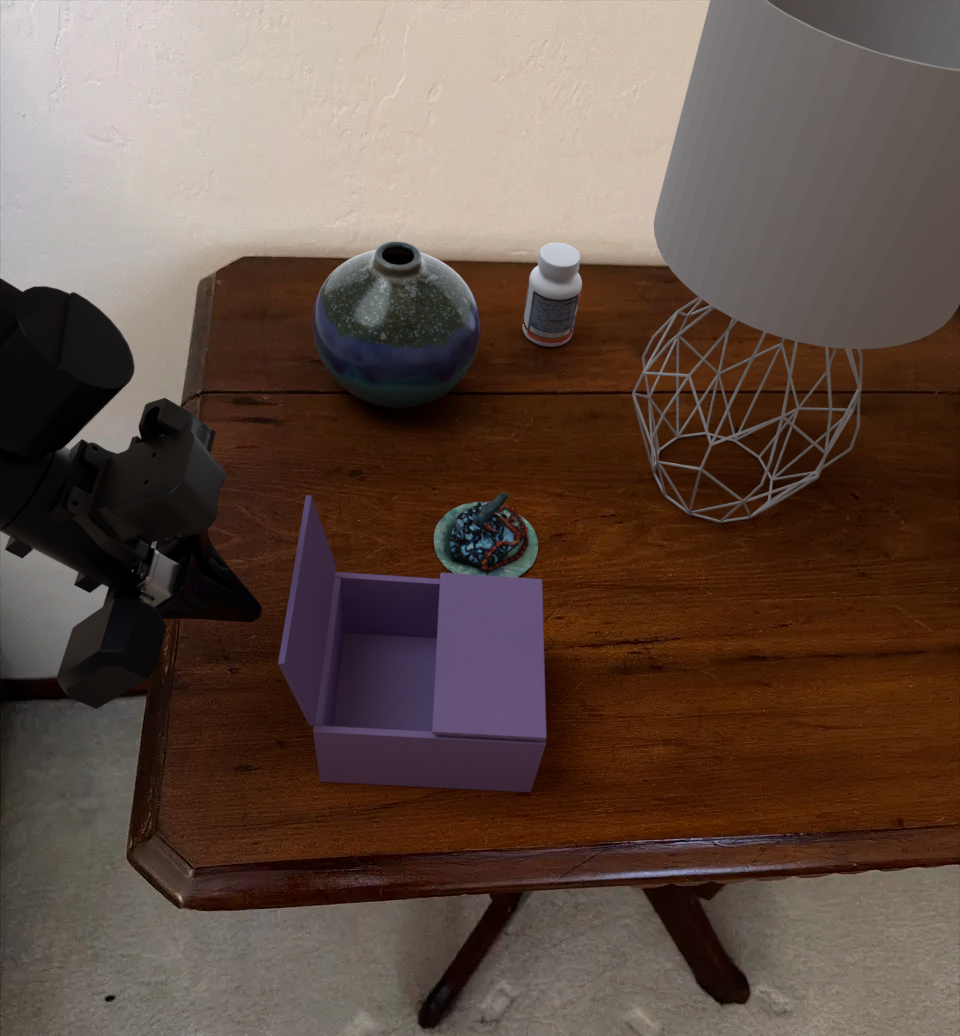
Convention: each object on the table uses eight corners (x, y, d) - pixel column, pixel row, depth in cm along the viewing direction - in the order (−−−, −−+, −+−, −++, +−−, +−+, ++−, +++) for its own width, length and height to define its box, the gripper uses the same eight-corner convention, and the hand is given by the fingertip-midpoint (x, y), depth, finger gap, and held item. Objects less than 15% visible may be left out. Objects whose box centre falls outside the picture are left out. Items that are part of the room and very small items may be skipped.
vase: (316, 434, 83) (305, 310, 72) (316, 326, 92) (307, 200, 81) (482, 434, 85) (497, 312, 74) (467, 328, 94) (479, 205, 83)
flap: (315, 725, 58) (309, 726, 58) (336, 566, 65) (331, 566, 65) (284, 663, 52) (277, 663, 52) (311, 494, 59) (305, 495, 59)
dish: (441, 478, 78) (504, 479, 73) (495, 510, 83) (557, 513, 78) (413, 566, 77) (474, 573, 72) (469, 593, 82) (530, 601, 77)
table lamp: (562, 406, 88) (668, -100, 55) (769, 383, 93) (981, -97, 60) (641, 587, 77) (834, 81, 44) (873, 550, 81) (1207, 68, 48)
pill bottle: (579, 345, 94) (595, 267, 86) (532, 351, 93) (544, 274, 85) (561, 313, 96) (575, 235, 89) (515, 319, 95) (525, 241, 88)
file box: (319, 781, 64) (312, 725, 57) (338, 630, 72) (334, 564, 65) (530, 792, 65) (547, 738, 58) (528, 642, 73) (543, 578, 66)
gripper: (53, 559, 39) (324, 701, 49) (147, 294, 50) (356, 454, 60) (-60, 648, 46) (202, 759, 55) (45, 395, 56) (250, 525, 66)
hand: (257, 615), depth 59 cm, fingers closed
